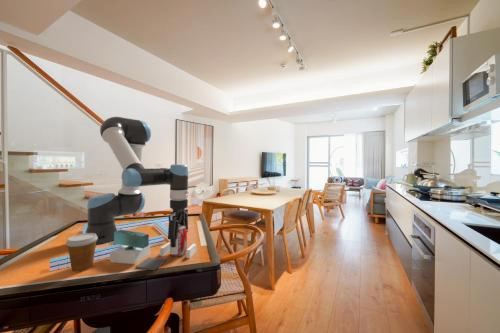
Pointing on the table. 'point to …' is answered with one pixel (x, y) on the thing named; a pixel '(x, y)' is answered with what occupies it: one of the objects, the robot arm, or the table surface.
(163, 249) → the cradle
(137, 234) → the teal rectangular block
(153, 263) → the coaster
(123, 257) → the pedestal
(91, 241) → the disposable coffee cup
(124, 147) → the robot arm
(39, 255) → the table surface
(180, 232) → the soda can
